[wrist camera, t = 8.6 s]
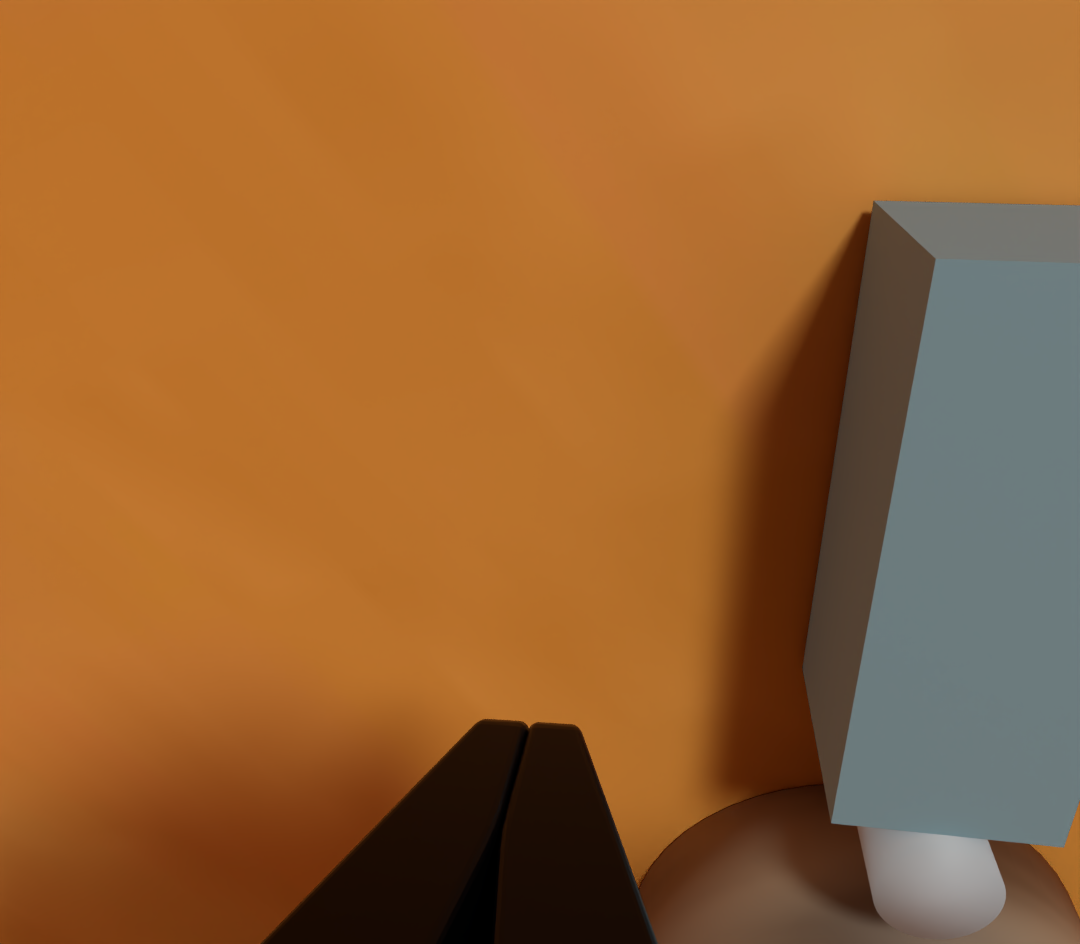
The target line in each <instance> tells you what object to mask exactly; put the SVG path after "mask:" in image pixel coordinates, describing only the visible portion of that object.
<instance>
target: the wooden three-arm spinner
mask: <svg viewBox="0 0 1080 944" xmlns="http://www.w3.org/2000/svg"><path fill="white" fill-rule="evenodd" d="M988 842H989V844H990V847H991V850H992V852H993V855H994V858H995V861H996V863H997V866H998V869H999V871H1000V874H1001V877H1002V879H1003V882H1004V885H1005V889H1006V899H1005V904H1004V906H1003V908H1002V910H1001V912H1000V913H999V915H998V916H997V917H996V918H995V919H994V920H993V921H992V922H991V923H990V924H989V925H987V926H986V927H984V928H982V929H980V930H979V931H977V932H974V933H972V934H969V935H966V936H962V937H958V938H953V939H925V938H919V937H915V936H911V935H908V934H905V933H903V932H901V931H899V930H897V929H895V928H893V927H892V926H890V925H889V924H888V923H887V922H885V921H884V920H883V919H882V917H881V916H880V915H879V913H878V912H877V910H876V908H875V906H874V902H873V898H872V893H871V889H870V884H869V879H868V875H867V870H866V866H865V861H864V856H863V852H862V847H861V842H860V838H859V833H858V829H857V826H852V825H842V824H833V823H831V820H830V815H829V810H828V804H827V799H826V793H825V788H824V785H814V786H807V787H800V788H793V789H786V790H782V791H777V792H773V793H769V794H765V795H761V796H757V797H754V798H751V799H749V800H746V801H743V802H740V803H738V804H735V805H732V806H729V807H727V808H725V809H723V810H721V811H719V812H717V813H715V814H713V815H711V816H709V817H707V818H705V819H704V820H702V821H701V822H699V823H698V824H696V825H695V826H693V827H692V828H690V829H689V830H687V831H686V832H684V833H683V834H682V835H681V836H680V837H679V838H677V839H676V840H675V841H674V842H673V843H672V844H671V845H669V846H668V847H667V848H666V849H665V850H664V852H663V853H662V854H661V855H660V856H659V858H658V859H657V860H656V861H655V862H654V864H653V865H652V866H651V868H650V870H649V871H648V873H647V875H646V877H645V878H644V880H643V882H642V884H641V886H640V889H639V892H640V895H641V898H642V901H643V904H644V906H645V909H646V912H647V915H648V917H649V920H650V923H651V926H652V928H653V931H654V934H655V937H656V940H657V942H658V944H1080V919H1079V916H1078V914H1077V912H1076V910H1075V907H1074V905H1073V903H1072V901H1071V898H1070V896H1069V894H1068V892H1067V890H1066V889H1065V887H1064V885H1063V883H1062V882H1061V880H1060V878H1059V877H1058V875H1057V873H1056V872H1055V871H1054V870H1053V868H1052V867H1051V866H1050V865H1049V864H1048V862H1047V861H1046V860H1045V859H1044V858H1043V856H1042V855H1041V854H1040V853H1039V852H1037V851H1036V850H1035V849H1034V848H1033V847H1032V846H1031V845H1029V844H1025V843H1016V842H1006V841H996V840H988Z"/></svg>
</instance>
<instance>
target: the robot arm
mask: <svg viewBox="0 0 1080 944" xmlns="http://www.w3.org/2000/svg"><path fill="white" fill-rule="evenodd" d="M261 944H658V942H657V940H656V937H655V934H654V931H653V928H652V926H651V923H650V920H649V917H648V915H647V912H646V909H645V906H644V904H643V901H642V898H641V895H640V892H639V890H638V887H637V884H636V881H635V879H634V876H633V873H632V870H631V867H630V865H629V862H628V859H627V856H626V854H625V851H624V848H623V845H622V843H621V840H620V837H619V834H618V831H617V829H616V826H615V823H614V820H613V818H612V815H611V812H610V809H609V806H608V804H607V801H606V798H605V795H604V793H603V790H602V787H601V784H600V782H599V779H598V776H597V773H596V770H595V768H594V765H593V762H592V759H591V757H590V754H589V751H588V748H587V745H586V743H585V740H584V737H583V734H582V732H581V730H580V729H579V728H578V727H577V726H575V725H572V724H558V723H542V722H537V723H534V724H533V725H532V726H531V727H530V728H528V726H527V724H525V723H524V722H522V721H511V720H496V719H483V720H481V721H479V722H477V723H476V724H475V725H474V726H473V727H472V728H471V729H470V730H469V731H468V732H467V733H466V734H465V735H464V736H463V737H462V738H461V739H460V740H459V741H458V742H457V743H456V744H455V745H454V746H453V747H452V748H451V749H450V750H449V751H448V752H447V753H446V754H445V755H444V756H443V757H442V758H441V759H440V760H439V762H438V763H437V764H436V765H435V766H434V767H433V768H432V769H431V770H430V771H429V772H428V773H427V774H426V775H425V776H424V777H423V778H422V779H421V780H420V781H419V782H418V783H417V784H416V785H415V786H414V787H413V788H412V789H411V790H410V791H409V792H408V793H407V794H406V795H405V796H404V797H403V798H402V799H401V800H400V801H399V802H398V804H397V805H396V806H395V807H394V808H393V809H392V810H391V811H390V812H389V813H388V814H387V815H386V816H385V817H384V818H383V819H382V820H381V821H380V822H379V823H378V824H377V825H376V826H375V827H374V828H373V829H372V830H371V831H370V832H369V833H368V834H367V835H366V836H365V837H364V838H363V839H362V840H361V841H360V842H359V843H358V844H357V846H356V847H355V848H354V849H353V850H352V851H351V852H350V853H349V854H348V855H347V856H346V857H345V858H344V859H343V860H342V861H341V862H340V863H339V864H338V865H337V866H336V867H335V868H334V869H333V870H332V871H331V872H330V873H329V874H328V875H327V876H326V877H325V878H324V879H323V880H322V881H321V882H320V883H319V884H318V885H317V886H316V888H315V889H314V890H313V891H312V892H311V893H310V894H309V895H308V896H307V897H306V898H305V899H304V900H303V901H302V902H301V903H300V904H299V905H298V906H297V907H296V908H295V909H294V910H293V911H292V912H291V913H290V914H289V915H288V916H287V917H286V918H285V919H284V920H283V921H282V922H281V923H280V924H279V925H278V926H277V927H276V928H275V930H274V931H273V932H272V933H271V934H270V935H269V936H268V937H267V938H266V939H265V940H264V941H263V942H262V943H261Z"/></svg>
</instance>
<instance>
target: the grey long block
mask: <svg viewBox="0 0 1080 944" xmlns="http://www.w3.org/2000/svg"><path fill="white" fill-rule="evenodd" d="M802 669H803V674H804V680H805V685H806V690H807V696H808V701H809V707H810V712H811V718H812V723H813V728H814V734H815V739H816V745H817V750H818V755H819V761H820V766H821V772H822V777H823V782H824V788H825V793H826V799H827V804H828V810H829V815H830V820H831V823H833V824H842V825H852V826H857V829H858V833H859V838H860V842H861V847H862V852H863V856H864V861H865V866H866V870H867V875H868V879H869V884H870V889H871V893H872V898H873V902H874V906H875V908H876V910H877V912H878V913H879V915H880V916H881V917H882V919H883V920H884V921H885V922H887V923H888V924H889V925H890V926H892V927H893V928H895V929H897V930H899V931H901V932H903V933H905V934H908V935H911V936H915V937H919V938H925V939H953V938H958V937H962V936H966V935H969V934H972V933H974V932H977V931H979V930H980V929H982V928H984V927H986V926H987V925H989V924H990V923H991V922H992V921H993V920H994V919H995V918H996V917H997V916H998V915H999V913H1000V912H1001V910H1002V908H1003V906H1004V904H1005V899H1006V889H1005V885H1004V882H1003V879H1002V877H1001V874H1000V871H999V869H998V866H997V863H996V861H995V858H994V855H993V852H992V850H991V847H990V844H989V842H988V840H996V841H1006V842H1016V843H1025V844H1035V845H1045V846H1054V847H1064V845H1065V842H1066V839H1067V836H1068V833H1069V830H1070V827H1071V824H1072V821H1073V818H1074V816H1075V813H1076V810H1077V807H1078V804H1079V801H1080V206H1076V205H1034V204H991V203H949V202H907V201H874V202H873V208H872V215H871V221H870V228H869V235H868V241H867V248H866V254H865V261H864V267H863V274H862V280H861V287H860V294H859V300H858V307H857V313H856V320H855V326H854V333H853V339H852V346H851V353H850V359H849V366H848V372H847V379H846V385H845V392H844V398H843V405H842V412H841V418H840V425H839V431H838V438H837V444H836V451H835V458H834V464H833V471H832V477H831V484H830V490H829V497H828V503H827V510H826V517H825V523H824V530H823V536H822V543H821V549H820V556H819V562H818V569H817V576H816V582H815V589H814V595H813V602H812V608H811V615H810V621H809V628H808V635H807V641H806V648H805V654H804V661H803V667H802Z"/></svg>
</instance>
